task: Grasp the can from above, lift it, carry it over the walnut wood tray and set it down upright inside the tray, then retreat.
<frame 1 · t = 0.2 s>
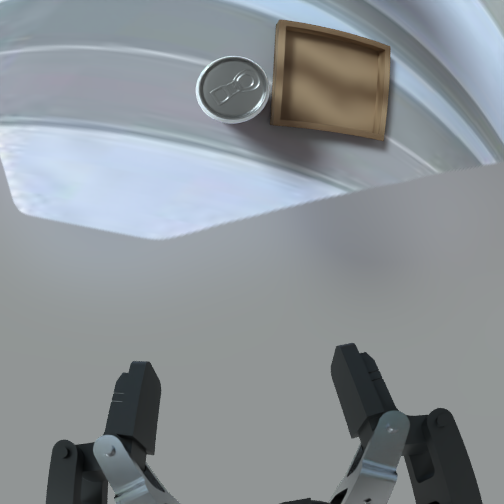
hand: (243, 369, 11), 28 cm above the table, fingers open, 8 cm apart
can: (231, 96, 30), on the table
tray: (330, 80, 29), on the table
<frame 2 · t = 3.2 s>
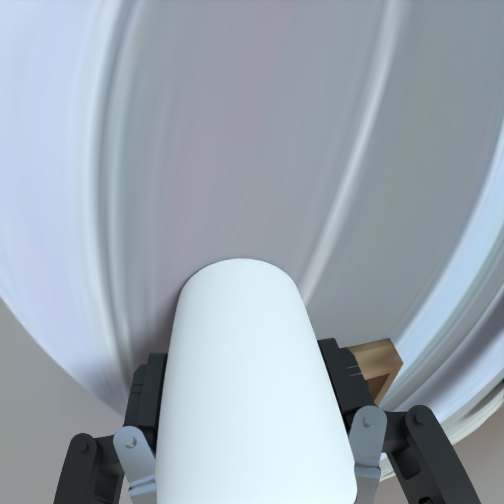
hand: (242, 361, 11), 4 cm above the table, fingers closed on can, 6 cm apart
can: (239, 303, 15), on the table, touching gripper
tray: (291, 406, 21), on the table
when the fingers open (6 cm above the table, at t = 9.2 s): can drops 1 cm, resting on tray.
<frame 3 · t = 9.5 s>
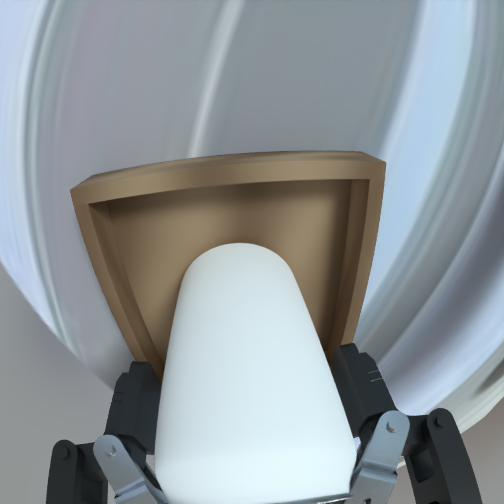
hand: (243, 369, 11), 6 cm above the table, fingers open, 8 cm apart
can: (237, 288, 16), resting on tray
tray: (236, 284, 16), on the table
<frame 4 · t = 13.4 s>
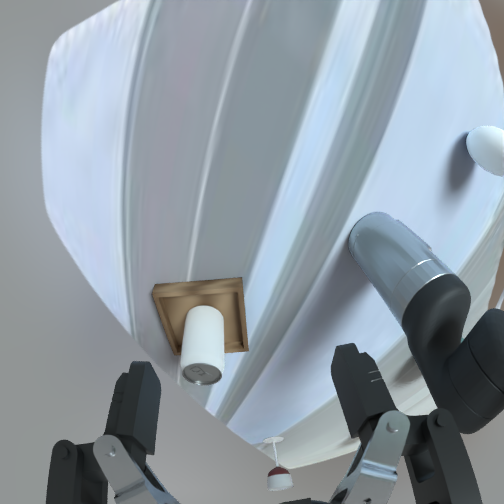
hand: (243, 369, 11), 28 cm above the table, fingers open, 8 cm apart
can: (204, 317, 46), resting on tray
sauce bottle: (469, 141, 33), on the table
tray: (204, 315, 46), on the table
wineglass: (273, 439, 80), on the table
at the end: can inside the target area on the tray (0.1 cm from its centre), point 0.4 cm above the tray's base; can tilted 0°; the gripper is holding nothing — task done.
